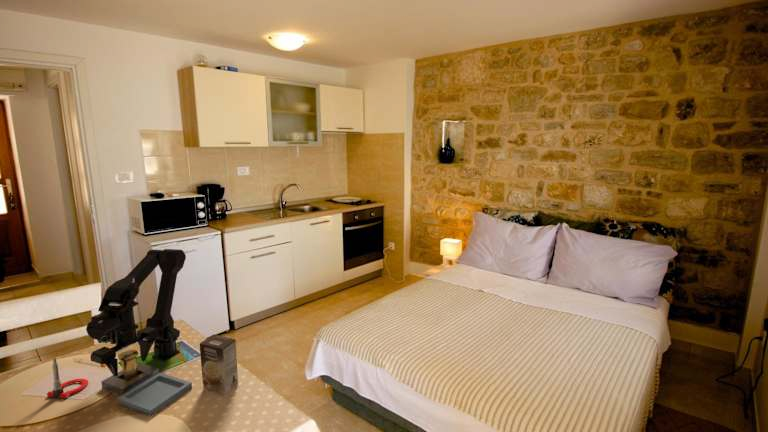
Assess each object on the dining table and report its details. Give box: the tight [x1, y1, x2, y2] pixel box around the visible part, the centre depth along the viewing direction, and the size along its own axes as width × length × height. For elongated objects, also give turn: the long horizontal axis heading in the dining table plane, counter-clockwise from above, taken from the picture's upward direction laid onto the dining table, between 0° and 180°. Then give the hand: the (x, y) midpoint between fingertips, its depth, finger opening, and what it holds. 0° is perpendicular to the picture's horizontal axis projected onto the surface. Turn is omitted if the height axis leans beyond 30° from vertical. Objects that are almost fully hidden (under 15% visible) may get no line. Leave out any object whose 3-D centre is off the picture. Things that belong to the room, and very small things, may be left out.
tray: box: [116, 372, 193, 417], centre depth 118 cm, size 14×14×2 cm
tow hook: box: [46, 356, 89, 400], centre depth 120 cm, size 8×13×9 cm
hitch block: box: [101, 361, 160, 396], centre depth 125 cm, size 12×10×2 cm
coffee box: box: [199, 333, 239, 396], centre depth 121 cm, size 9×6×16 cm
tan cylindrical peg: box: [117, 349, 139, 381], centre depth 124 cm, size 5×5×10 cm
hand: (130, 368), depth 124 cm, fingers open, 9 cm apart
